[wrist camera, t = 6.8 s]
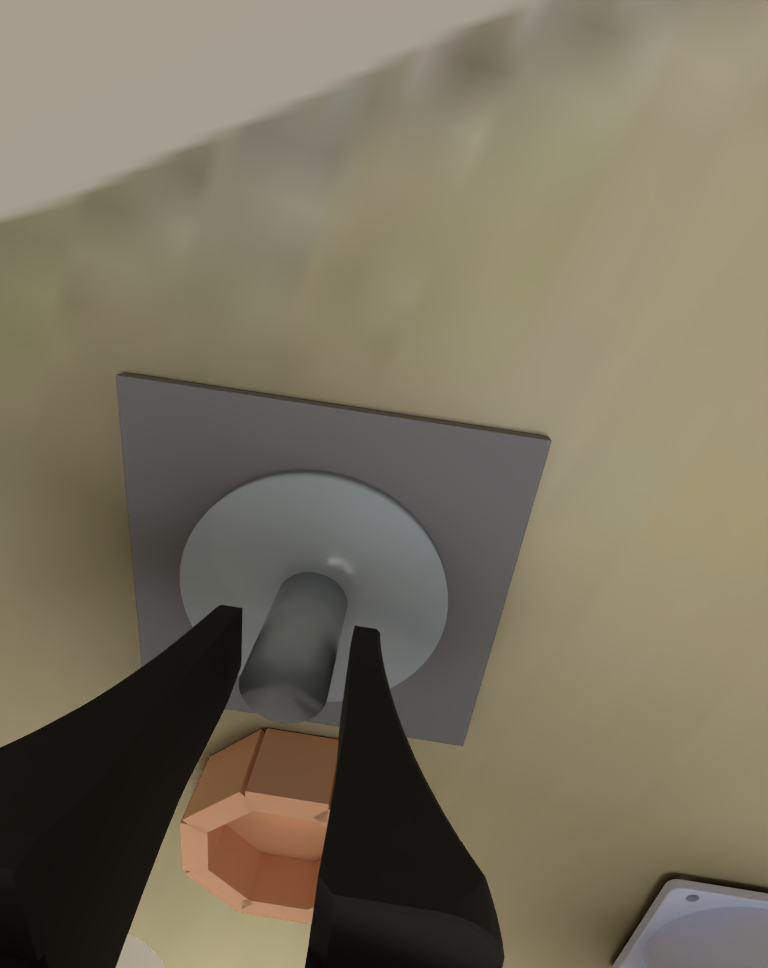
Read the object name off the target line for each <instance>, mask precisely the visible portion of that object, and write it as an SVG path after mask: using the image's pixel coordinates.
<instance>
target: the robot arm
mask: <svg viewBox="0 0 768 968" xmlns="http://www.w3.org/2000/svg"><path fill="white" fill-rule="evenodd" d="M242 610H243V608H239V607H233V606H227V605H219V606H218V607H216V608H215V609H214V610H213V611H211V612H210V613H209V614H208V615H207V616H206V617H204V618H203V619H202V620H201V621H200V622H199V623H197V624H196V625H195V626H194V627H193V628H191V629H190V630H189V631H188V632H187V633H185V634H184V635H183V636H182V637H180V638H179V639H178V640H177V641H175V642H174V643H173V644H172V645H170V646H169V647H168V648H167V649H165V650H164V651H163V652H161V653H160V654H159V655H158V656H156V657H155V658H154V659H152V660H151V661H149V662H148V663H147V664H145V665H144V666H143V667H141V668H140V669H138V670H137V671H136V672H134V673H133V674H131V675H130V676H129V677H127V678H126V679H124V680H123V681H121V682H120V683H118V684H117V685H115V686H114V687H112V688H111V689H109V690H108V691H106V692H104V693H103V694H101V695H100V696H98V697H96V698H95V699H93V700H92V701H90V702H88V703H87V704H85V705H83V706H81V707H80V708H78V709H76V710H74V711H72V712H70V713H69V714H67V715H65V716H63V717H61V718H59V719H57V720H56V721H54V722H52V723H50V724H48V725H46V726H44V727H43V728H41V729H39V730H37V731H35V732H33V733H31V734H28V735H26V736H24V737H22V738H20V739H18V740H16V741H14V742H12V743H10V744H7V745H5V746H3V747H1V748H0V968H116V965H117V963H118V960H119V957H120V954H121V951H122V948H123V945H124V943H125V940H126V937H127V935H128V932H129V929H130V926H131V924H132V921H133V918H134V915H135V913H136V910H137V907H138V905H139V902H140V899H141V896H142V894H143V891H144V888H145V886H146V883H147V880H148V878H149V875H150V873H151V870H152V867H153V865H154V862H155V860H156V857H157V854H158V852H159V849H160V847H161V844H162V841H163V839H164V836H165V834H166V832H167V829H168V827H169V824H170V822H171V819H172V817H173V814H174V812H175V809H176V807H177V804H178V802H179V799H180V797H181V795H182V793H183V791H184V789H185V786H186V784H187V782H188V780H189V778H190V776H191V774H192V772H193V770H194V768H195V766H196V764H197V762H198V760H199V758H200V756H201V754H202V753H203V751H204V749H205V747H206V745H207V743H208V741H209V739H210V737H211V735H212V733H213V731H214V729H215V727H216V725H217V723H218V721H219V719H220V717H221V715H222V713H223V711H224V709H225V707H226V705H227V703H228V700H229V698H230V695H231V693H232V690H233V687H234V685H235V682H236V679H237V676H238V673H239V671H240V668H241V660H242ZM503 962H504V951H503V942H502V937H501V932H500V927H499V923H498V918H497V914H496V911H495V907H494V903H493V900H492V897H491V893H490V890H489V887H488V884H487V881H486V878H485V876H484V874H483V873H482V871H481V870H480V868H479V867H478V866H477V864H476V863H475V861H474V860H473V858H472V857H471V856H470V854H469V853H468V851H467V849H466V848H465V846H464V845H463V843H462V842H461V840H460V839H459V837H458V836H457V834H456V832H455V831H454V829H453V828H452V826H451V824H450V823H449V821H448V819H447V818H446V816H445V814H444V813H443V811H442V809H441V807H440V805H439V804H438V802H437V800H436V798H435V796H434V794H433V792H432V791H431V789H430V787H429V785H428V783H427V781H426V780H425V778H424V776H423V774H422V771H421V769H420V767H419V765H418V763H417V761H416V759H415V757H414V754H413V752H412V750H411V747H410V745H409V743H408V740H407V738H406V735H405V733H404V730H403V728H402V725H401V722H400V719H399V716H398V714H397V711H396V708H395V705H394V701H393V698H392V695H391V691H390V687H389V684H388V680H387V676H386V672H385V668H384V663H383V658H382V651H381V642H380V632H379V631H378V630H377V629H374V628H368V627H361V626H354V631H353V635H352V640H351V645H350V652H349V660H348V667H347V674H346V681H345V689H344V696H343V703H342V711H341V718H340V729H339V741H338V753H337V765H336V777H335V785H334V791H333V796H332V802H331V808H330V813H329V819H328V824H327V830H326V835H325V841H324V846H323V852H322V857H321V863H320V868H319V873H318V880H317V888H316V895H315V902H314V910H313V917H312V924H311V932H310V939H309V946H308V952H307V958H306V964H305V968H502V967H503ZM612 968H768V893H762V892H756V891H750V890H744V889H737V888H731V887H725V886H719V885H713V884H706V883H700V882H694V881H688V880H681V879H673V880H670V881H668V882H667V883H665V885H664V886H663V888H662V890H661V891H660V893H659V894H658V896H657V897H656V899H655V900H654V902H653V904H652V905H651V907H650V908H649V910H648V911H647V913H646V914H645V916H644V918H643V919H642V921H641V922H640V924H639V925H638V927H637V928H636V930H635V932H634V933H633V935H632V936H631V938H630V939H629V941H628V942H627V944H626V946H625V947H624V949H623V950H622V952H621V953H620V955H619V956H618V958H617V960H616V961H615V963H614V964H613V966H612Z"/></svg>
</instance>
